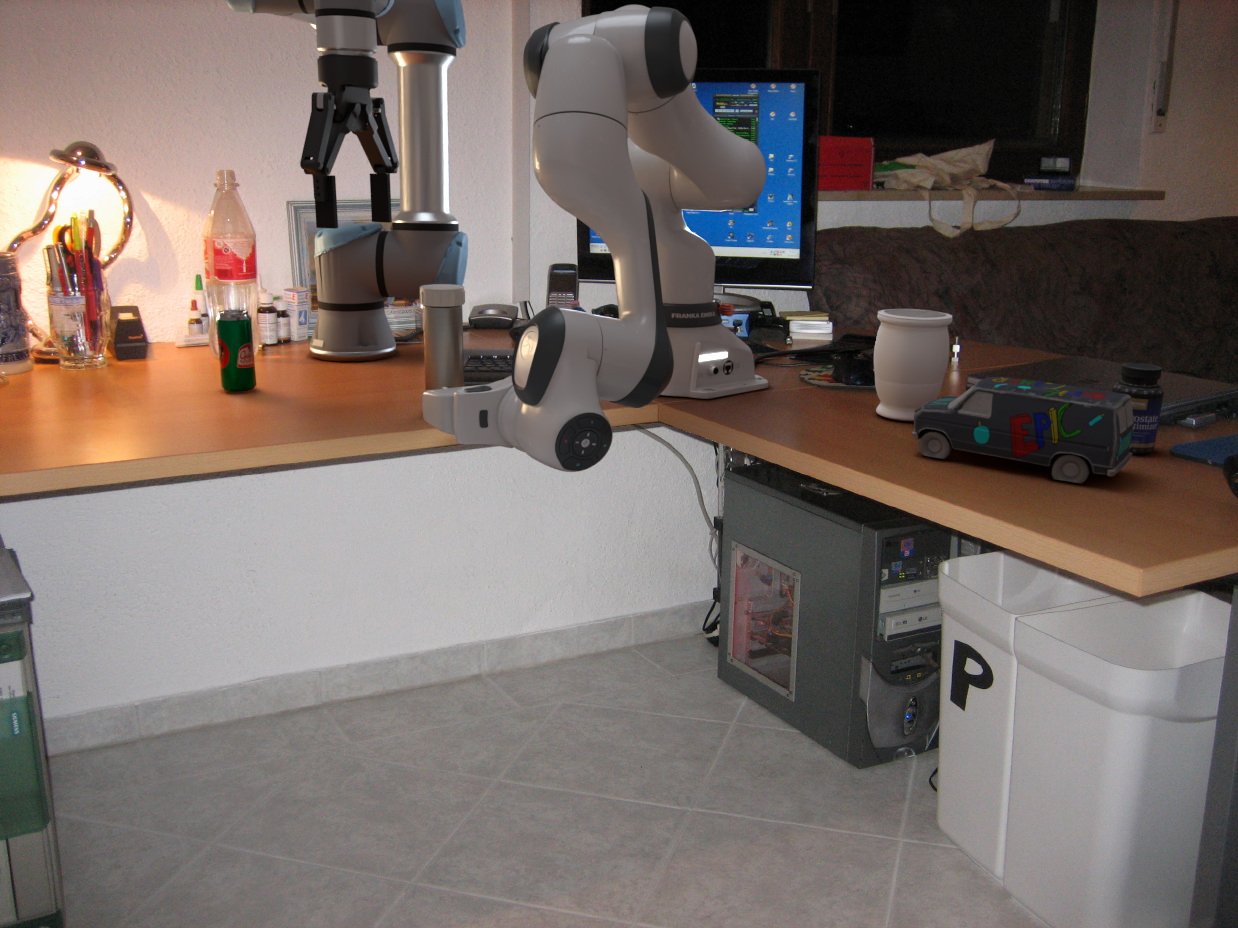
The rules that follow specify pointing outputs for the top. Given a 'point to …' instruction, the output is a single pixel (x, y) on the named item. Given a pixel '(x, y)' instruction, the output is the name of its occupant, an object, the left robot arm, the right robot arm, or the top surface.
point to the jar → (910, 360)
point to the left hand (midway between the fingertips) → (355, 225)
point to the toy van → (1032, 426)
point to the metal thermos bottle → (443, 347)
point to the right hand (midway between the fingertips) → (480, 389)
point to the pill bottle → (1142, 402)
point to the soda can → (236, 350)
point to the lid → (442, 295)
